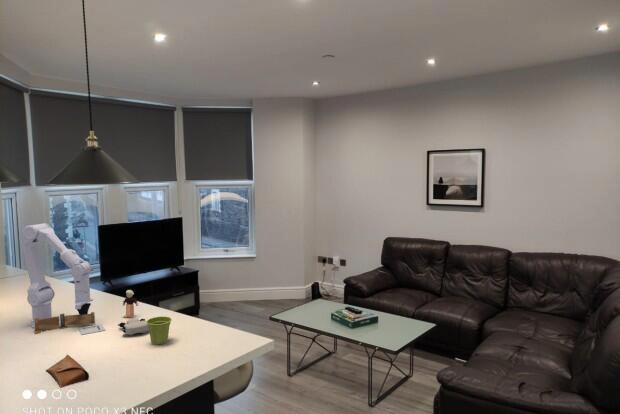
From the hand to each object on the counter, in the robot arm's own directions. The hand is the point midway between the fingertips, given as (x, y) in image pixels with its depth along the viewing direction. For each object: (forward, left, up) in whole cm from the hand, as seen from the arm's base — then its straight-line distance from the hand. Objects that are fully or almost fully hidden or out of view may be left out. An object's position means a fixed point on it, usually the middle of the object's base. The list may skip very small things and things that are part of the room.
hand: (83, 320), depth 187 cm
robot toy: (+20, +17, -2) cm, 27 cm away
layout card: (+8, +2, -2) cm, 9 cm away
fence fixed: (-2, -12, -2) cm, 13 cm away
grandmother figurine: (0, +19, -2) cm, 19 cm away
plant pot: (+38, +22, -2) cm, 44 cm away
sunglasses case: (+49, -11, -3) cm, 51 cm away
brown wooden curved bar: (0, -2, -1) cm, 3 cm away
